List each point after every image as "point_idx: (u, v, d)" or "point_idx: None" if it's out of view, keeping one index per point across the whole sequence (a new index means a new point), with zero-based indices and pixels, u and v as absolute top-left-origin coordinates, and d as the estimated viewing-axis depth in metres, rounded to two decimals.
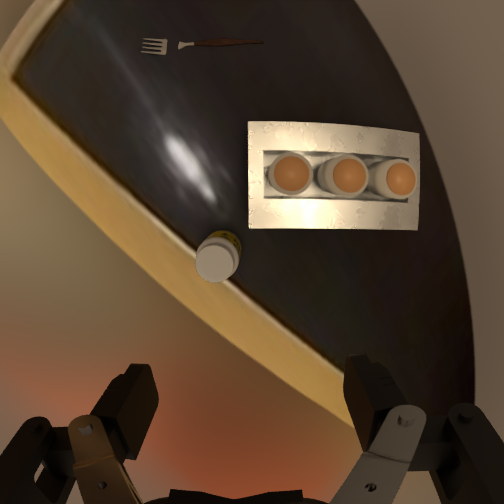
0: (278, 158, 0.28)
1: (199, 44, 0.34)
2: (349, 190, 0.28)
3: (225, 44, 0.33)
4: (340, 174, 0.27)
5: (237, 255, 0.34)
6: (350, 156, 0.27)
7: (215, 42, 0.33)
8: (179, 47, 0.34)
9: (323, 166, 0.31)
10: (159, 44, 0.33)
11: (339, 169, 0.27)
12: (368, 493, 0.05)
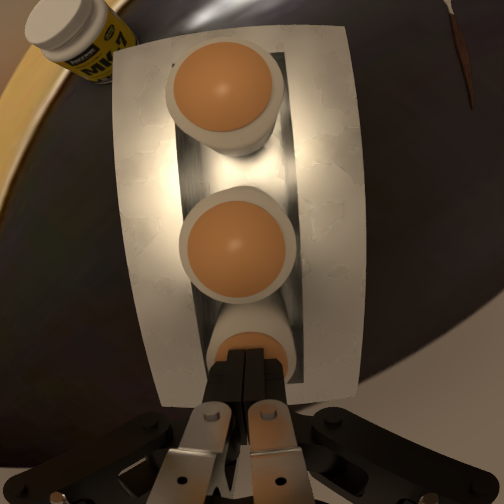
0: (262, 53, 0.09)
1: (452, 20, 0.16)
2: (192, 252, 0.10)
3: (460, 53, 0.16)
4: (234, 220, 0.10)
5: (73, 54, 0.12)
6: (291, 248, 0.10)
7: (459, 39, 0.16)
8: None
9: (260, 190, 0.13)
10: None
11: (249, 217, 0.10)
12: (282, 487, 0.05)
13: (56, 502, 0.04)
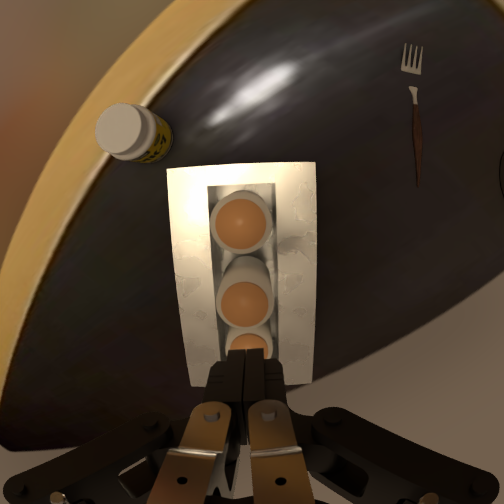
0: (262, 204, 0.20)
1: (414, 110, 0.27)
2: (223, 305, 0.21)
3: (414, 141, 0.28)
4: (244, 292, 0.21)
5: (133, 157, 0.23)
6: (271, 304, 0.21)
7: (416, 128, 0.27)
8: (410, 87, 0.27)
9: (257, 264, 0.24)
10: (414, 64, 0.26)
11: (251, 291, 0.21)
12: (282, 487, 0.05)
13: (56, 502, 0.04)
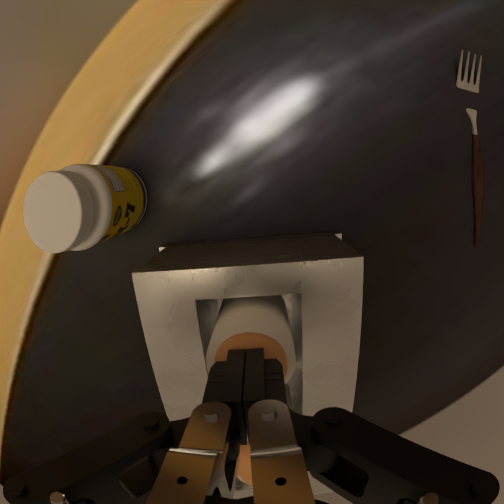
0: (281, 338, 0.13)
1: (474, 143, 0.19)
2: None
3: (475, 186, 0.19)
4: None
5: (84, 248, 0.15)
6: None
7: (477, 169, 0.19)
8: (468, 110, 0.18)
9: None
10: (472, 79, 0.17)
11: None
12: (281, 487, 0.05)
13: (56, 502, 0.04)
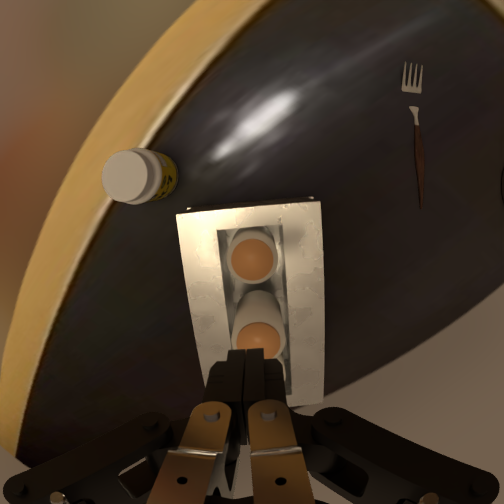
0: (269, 242, 0.24)
1: (416, 131, 0.28)
2: (238, 344, 0.22)
3: (417, 163, 0.28)
4: (257, 332, 0.22)
5: (141, 202, 0.24)
6: (283, 340, 0.22)
7: (418, 150, 0.28)
8: (411, 107, 0.27)
9: (268, 300, 0.25)
10: (414, 83, 0.26)
11: (264, 330, 0.22)
12: (281, 487, 0.05)
13: (56, 502, 0.04)
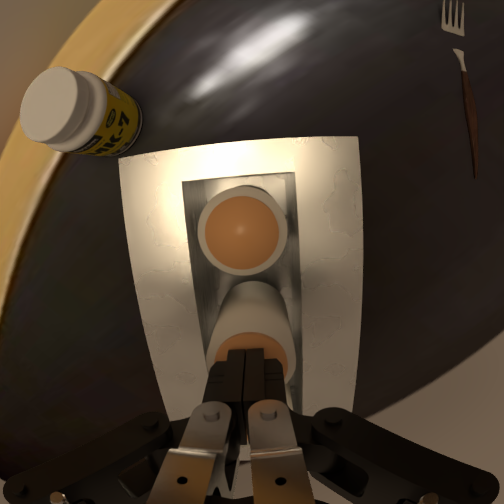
0: (272, 203, 0.14)
1: (464, 79, 0.17)
2: None
3: (469, 118, 0.18)
4: None
5: (75, 146, 0.14)
6: (292, 363, 0.13)
7: (469, 102, 0.18)
8: (455, 50, 0.17)
9: (268, 296, 0.16)
10: (456, 23, 0.16)
11: (261, 347, 0.13)
12: (281, 487, 0.05)
13: (56, 502, 0.04)
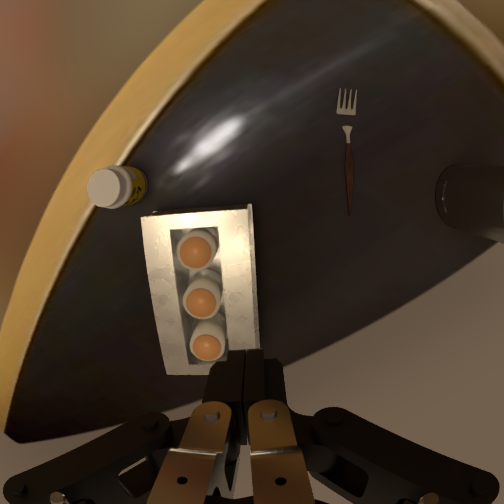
0: (208, 239, 0.31)
1: (347, 148, 0.36)
2: (187, 303, 0.32)
3: (346, 176, 0.36)
4: (200, 295, 0.32)
5: (116, 207, 0.31)
6: (218, 302, 0.33)
7: (348, 165, 0.36)
8: (344, 127, 0.35)
9: (211, 276, 0.36)
10: (349, 106, 0.34)
11: (204, 294, 0.32)
12: (281, 487, 0.05)
13: (56, 502, 0.04)
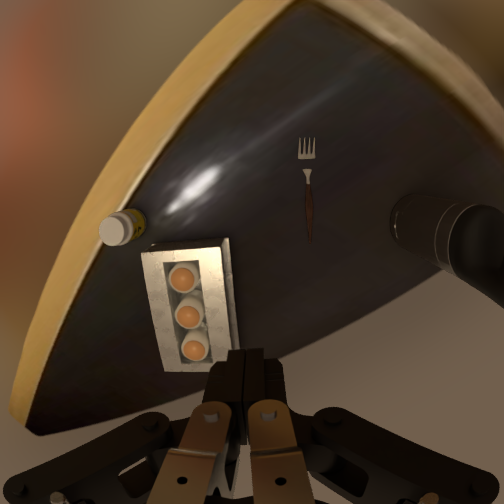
0: (191, 270, 0.41)
1: (307, 189, 0.45)
2: (178, 317, 0.42)
3: (306, 212, 0.46)
4: (187, 311, 0.42)
5: (122, 244, 0.41)
6: (201, 316, 0.43)
7: (308, 203, 0.45)
8: (305, 170, 0.45)
9: (197, 295, 0.46)
10: (309, 151, 0.44)
11: (190, 310, 0.42)
12: (281, 487, 0.05)
13: (56, 502, 0.04)
